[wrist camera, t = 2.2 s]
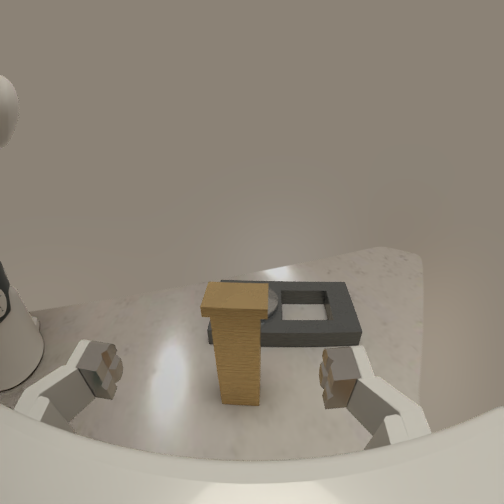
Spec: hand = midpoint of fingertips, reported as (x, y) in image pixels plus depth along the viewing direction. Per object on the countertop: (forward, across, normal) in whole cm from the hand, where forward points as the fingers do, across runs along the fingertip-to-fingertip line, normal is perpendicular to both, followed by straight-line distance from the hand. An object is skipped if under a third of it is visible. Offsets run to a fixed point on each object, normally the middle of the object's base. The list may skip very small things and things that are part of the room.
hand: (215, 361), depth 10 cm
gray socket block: (+26, -6, +20) cm, 33 cm away
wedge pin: (+12, 0, +20) cm, 23 cm away
